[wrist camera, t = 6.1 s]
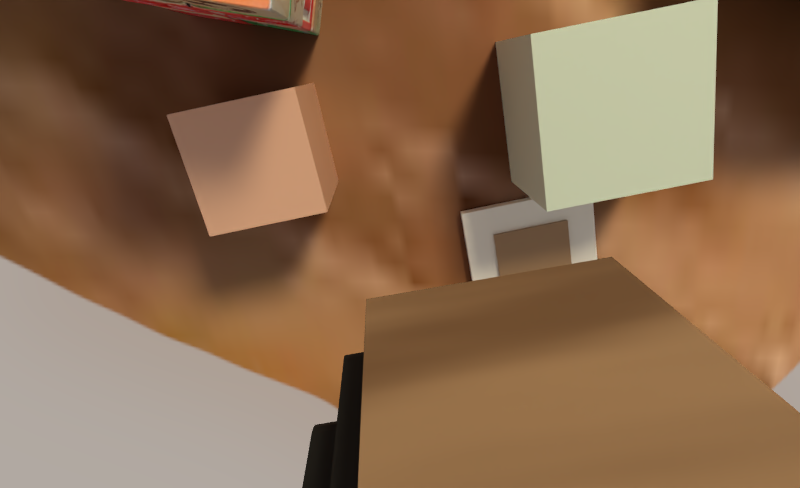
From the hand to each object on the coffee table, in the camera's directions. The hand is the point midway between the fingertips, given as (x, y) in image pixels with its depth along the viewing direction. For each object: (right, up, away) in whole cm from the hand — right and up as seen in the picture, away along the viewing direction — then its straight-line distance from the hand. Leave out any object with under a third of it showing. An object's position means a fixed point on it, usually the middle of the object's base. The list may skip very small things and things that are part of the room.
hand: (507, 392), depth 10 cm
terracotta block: (-8, +8, +15) cm, 19 cm away
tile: (+5, +2, +17) cm, 18 cm away
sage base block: (+6, +10, +15) cm, 19 cm away
